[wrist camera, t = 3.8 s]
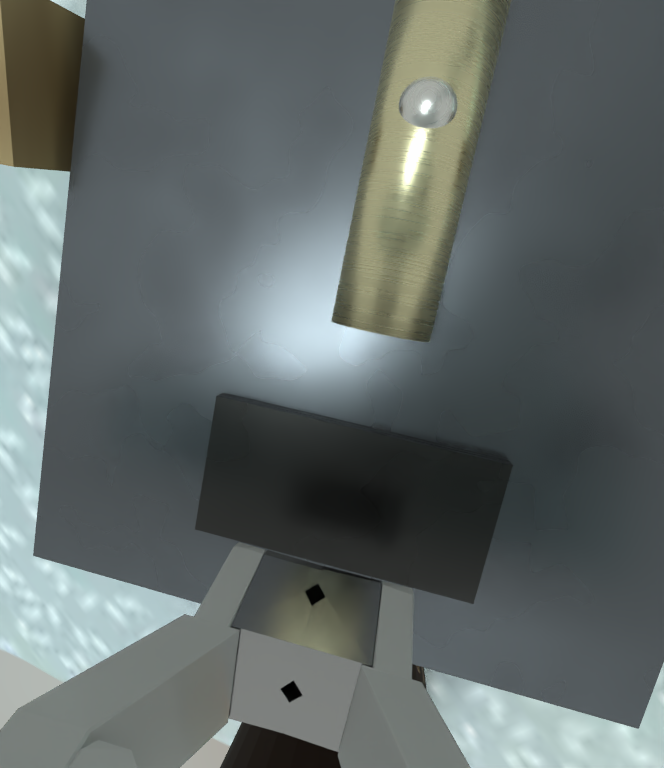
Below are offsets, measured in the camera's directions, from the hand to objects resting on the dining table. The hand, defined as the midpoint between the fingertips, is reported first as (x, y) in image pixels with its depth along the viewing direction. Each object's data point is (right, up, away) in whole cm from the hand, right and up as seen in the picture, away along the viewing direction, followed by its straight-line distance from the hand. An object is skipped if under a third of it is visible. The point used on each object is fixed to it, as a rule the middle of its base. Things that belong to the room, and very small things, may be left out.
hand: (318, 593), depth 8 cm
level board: (+2, +8, +2) cm, 9 cm away
